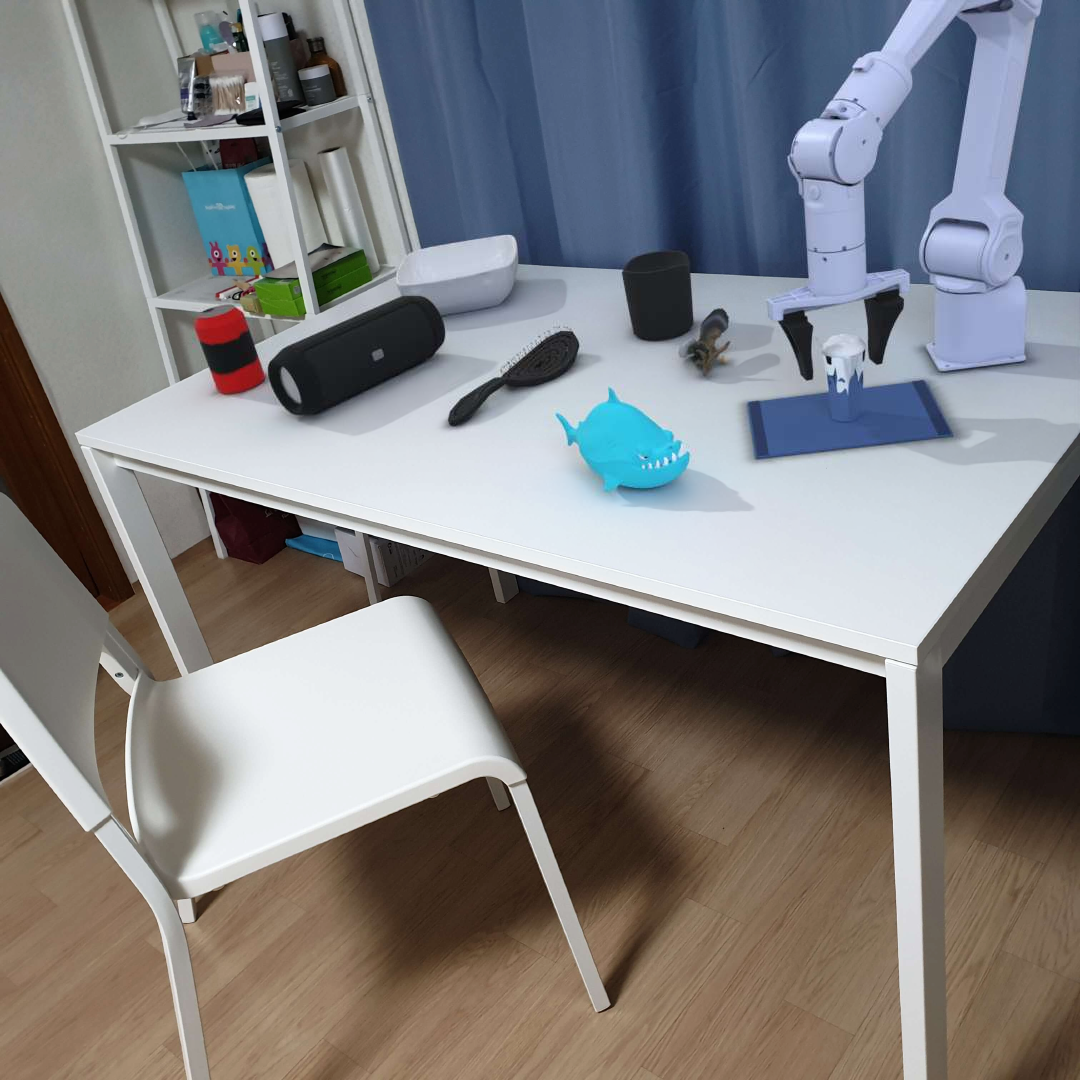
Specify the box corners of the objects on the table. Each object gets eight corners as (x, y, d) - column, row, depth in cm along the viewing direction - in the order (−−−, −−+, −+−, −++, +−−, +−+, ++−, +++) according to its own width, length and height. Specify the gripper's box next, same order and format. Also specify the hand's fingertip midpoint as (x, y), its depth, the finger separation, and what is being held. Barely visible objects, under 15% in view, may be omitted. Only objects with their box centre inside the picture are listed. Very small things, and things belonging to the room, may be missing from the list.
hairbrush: (424, 402, 135) (544, 322, 149) (431, 427, 137) (550, 346, 151) (469, 410, 130) (590, 327, 144) (476, 436, 132) (595, 351, 146)
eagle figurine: (750, 362, 130) (743, 325, 137) (714, 325, 127) (709, 289, 134) (701, 397, 134) (697, 359, 141) (666, 362, 131) (663, 325, 138)
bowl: (523, 309, 169) (514, 262, 165) (401, 330, 171) (389, 285, 168) (526, 272, 187) (518, 229, 183) (415, 292, 189) (405, 251, 185)
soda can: (244, 373, 168) (219, 301, 162) (275, 376, 163) (250, 303, 157) (208, 392, 163) (180, 319, 157) (238, 396, 158) (212, 321, 152)
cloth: (924, 382, 119) (924, 379, 119) (953, 436, 107) (953, 433, 107) (747, 404, 123) (747, 401, 123) (755, 458, 111) (755, 456, 111)
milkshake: (810, 416, 117) (805, 331, 112) (854, 403, 117) (851, 318, 112) (829, 430, 113) (825, 343, 108) (875, 417, 113) (873, 330, 108)
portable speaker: (314, 427, 142) (292, 359, 137) (277, 415, 149) (255, 349, 144) (455, 357, 155) (440, 293, 150) (416, 349, 162) (399, 286, 157)
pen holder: (710, 324, 148) (703, 255, 143) (659, 347, 144) (650, 276, 139) (667, 313, 155) (658, 247, 150) (617, 335, 151) (607, 267, 146)
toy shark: (660, 518, 104) (646, 420, 99) (535, 480, 116) (516, 392, 111) (719, 475, 109) (708, 380, 104) (593, 444, 121) (578, 357, 116)
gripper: (889, 219, 109) (891, 342, 116) (754, 250, 109) (764, 371, 115) (918, 235, 103) (919, 363, 110) (775, 267, 103) (785, 394, 109)
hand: (841, 369), depth 112 cm, fingers open, 7 cm apart
